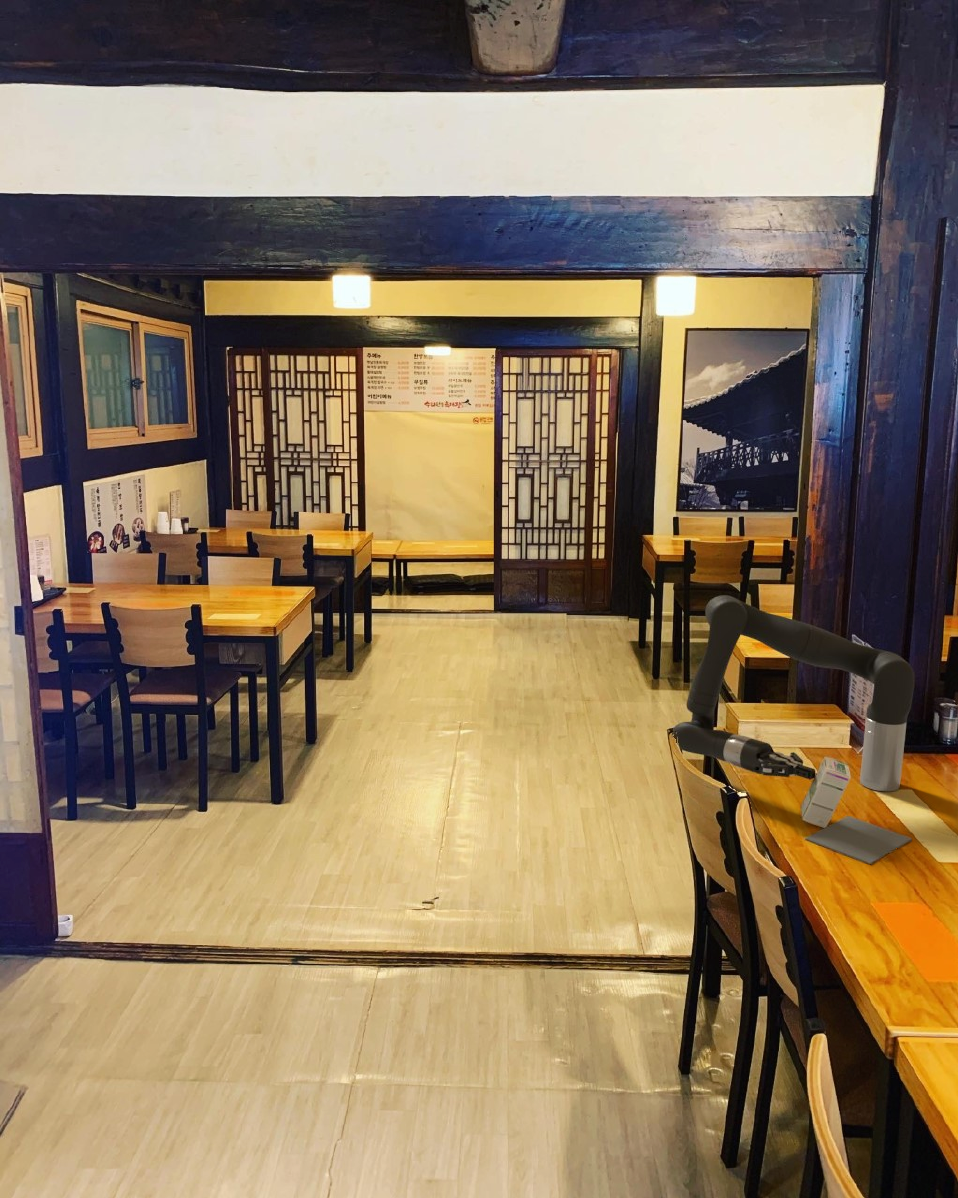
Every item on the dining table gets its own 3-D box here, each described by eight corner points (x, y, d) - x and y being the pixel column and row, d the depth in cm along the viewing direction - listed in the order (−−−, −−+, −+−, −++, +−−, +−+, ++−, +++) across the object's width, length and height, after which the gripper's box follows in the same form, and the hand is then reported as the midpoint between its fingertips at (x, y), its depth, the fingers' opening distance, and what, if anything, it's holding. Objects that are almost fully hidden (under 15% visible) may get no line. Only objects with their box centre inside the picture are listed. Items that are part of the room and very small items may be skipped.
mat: (848, 817, 228) (848, 815, 228) (911, 840, 217) (911, 838, 217) (805, 839, 216) (805, 838, 216) (870, 864, 205) (870, 863, 205)
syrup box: (826, 829, 222) (853, 777, 216) (800, 820, 222) (826, 768, 216) (824, 815, 227) (850, 764, 221) (798, 806, 227) (824, 755, 221)
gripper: (732, 744, 231) (798, 765, 218) (764, 732, 239) (830, 752, 226) (730, 775, 232) (796, 798, 219) (762, 762, 241) (828, 783, 228)
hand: (813, 774), depth 223 cm, fingers closed
